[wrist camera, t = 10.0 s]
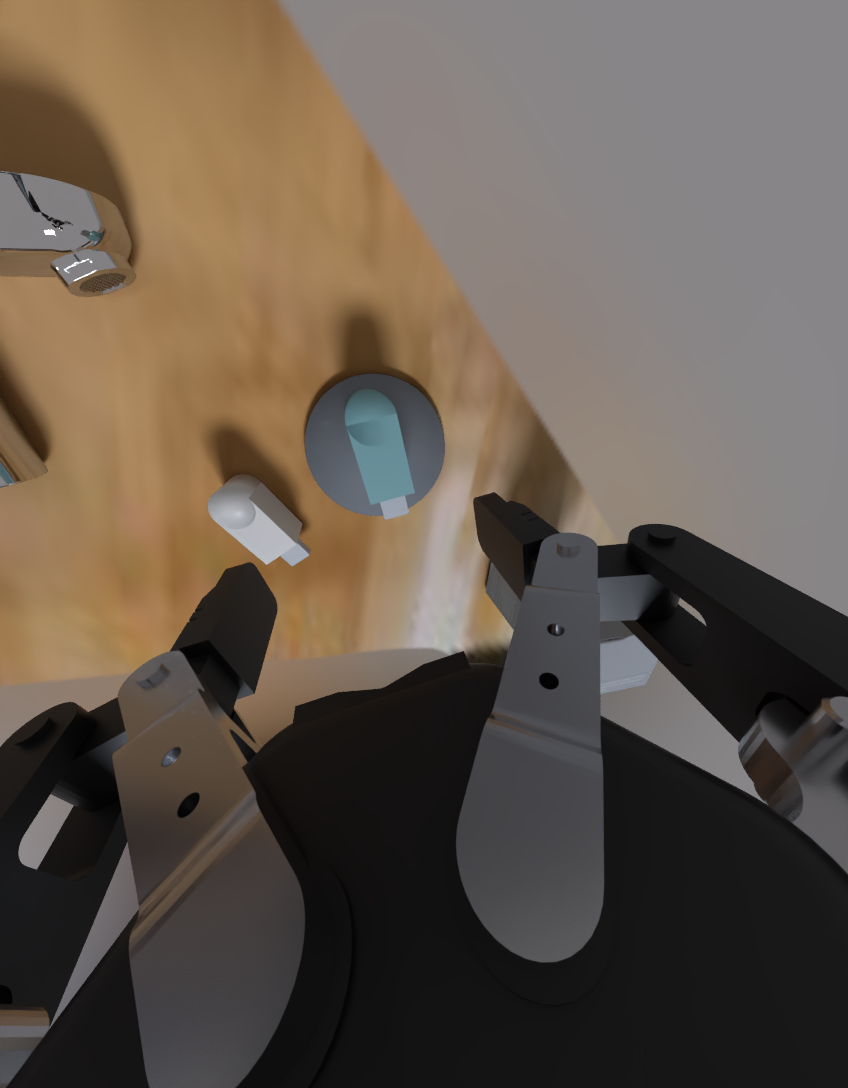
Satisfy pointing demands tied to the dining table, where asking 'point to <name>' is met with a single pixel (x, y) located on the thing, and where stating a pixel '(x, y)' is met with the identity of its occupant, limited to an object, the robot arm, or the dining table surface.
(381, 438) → the teal plug
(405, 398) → the slate coaster
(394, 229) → the dining table surface
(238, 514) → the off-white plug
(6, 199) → the chrome faucet
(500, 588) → the skincare box
